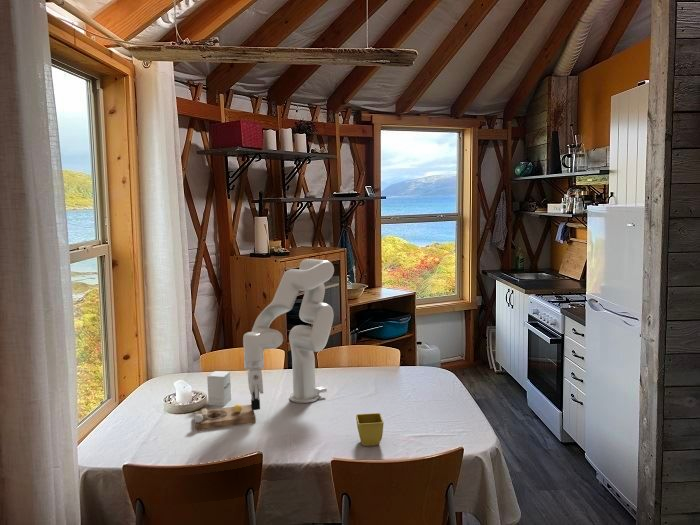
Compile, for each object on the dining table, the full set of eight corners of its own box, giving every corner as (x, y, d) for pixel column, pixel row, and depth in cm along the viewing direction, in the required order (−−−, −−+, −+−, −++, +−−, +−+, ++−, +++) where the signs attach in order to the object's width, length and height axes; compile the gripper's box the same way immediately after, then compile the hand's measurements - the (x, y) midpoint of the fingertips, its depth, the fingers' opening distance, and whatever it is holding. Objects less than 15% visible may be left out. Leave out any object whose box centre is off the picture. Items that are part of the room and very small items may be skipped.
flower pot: (356, 438, 192) (355, 413, 191) (380, 436, 192) (380, 412, 191) (358, 449, 183) (358, 424, 182) (384, 448, 184) (383, 422, 183)
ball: (241, 410, 213) (241, 402, 213) (242, 413, 210) (242, 405, 210) (233, 411, 212) (233, 403, 212) (234, 414, 209) (233, 406, 209)
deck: (252, 410, 219) (251, 399, 219) (255, 422, 207) (255, 411, 206) (195, 417, 213) (195, 406, 213) (195, 430, 201) (195, 419, 200)
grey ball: (203, 420, 204) (202, 412, 204) (203, 423, 201) (202, 415, 201) (194, 421, 203) (193, 413, 203) (194, 424, 200) (194, 416, 200)
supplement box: (224, 406, 225) (223, 376, 223) (208, 405, 226) (206, 376, 225) (231, 399, 232) (230, 371, 230) (215, 398, 233) (214, 370, 232)
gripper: (266, 368, 205) (267, 415, 207) (261, 357, 219) (263, 401, 221) (246, 370, 203) (247, 417, 205) (242, 359, 217) (244, 403, 219)
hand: (255, 409), depth 213 cm, fingers closed
